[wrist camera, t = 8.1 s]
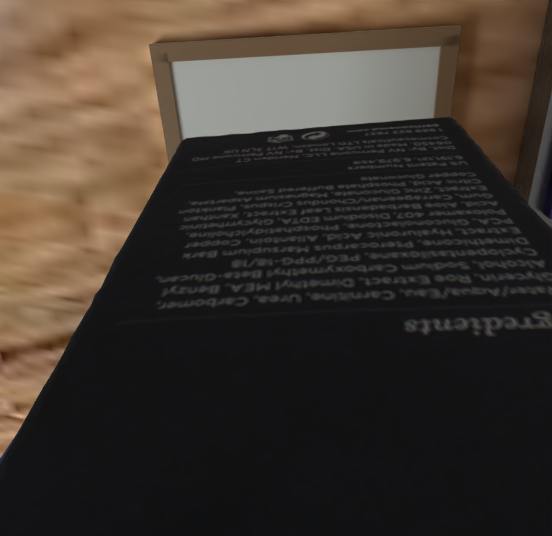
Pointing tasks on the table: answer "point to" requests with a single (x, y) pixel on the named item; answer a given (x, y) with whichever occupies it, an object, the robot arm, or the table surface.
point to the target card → (303, 81)
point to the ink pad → (539, 135)
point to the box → (306, 351)
